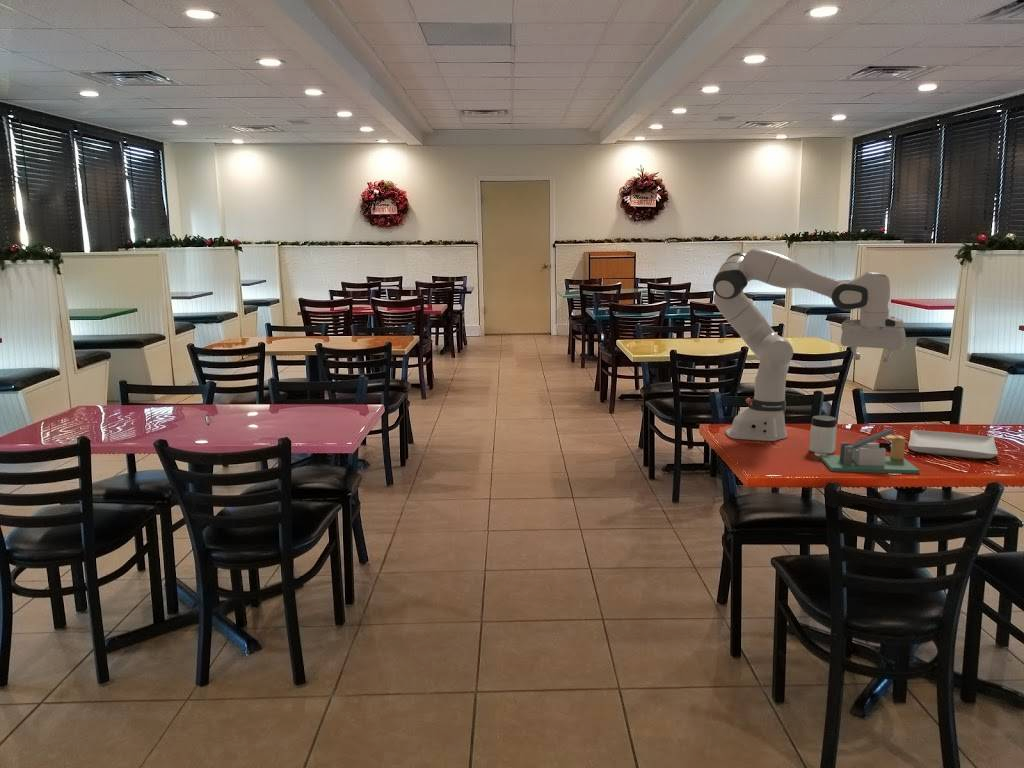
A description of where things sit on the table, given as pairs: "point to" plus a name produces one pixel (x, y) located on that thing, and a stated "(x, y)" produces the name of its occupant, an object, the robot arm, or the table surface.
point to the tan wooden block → (896, 446)
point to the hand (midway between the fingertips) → (871, 360)
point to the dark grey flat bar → (870, 438)
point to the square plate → (952, 444)
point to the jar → (823, 434)
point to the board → (864, 468)
